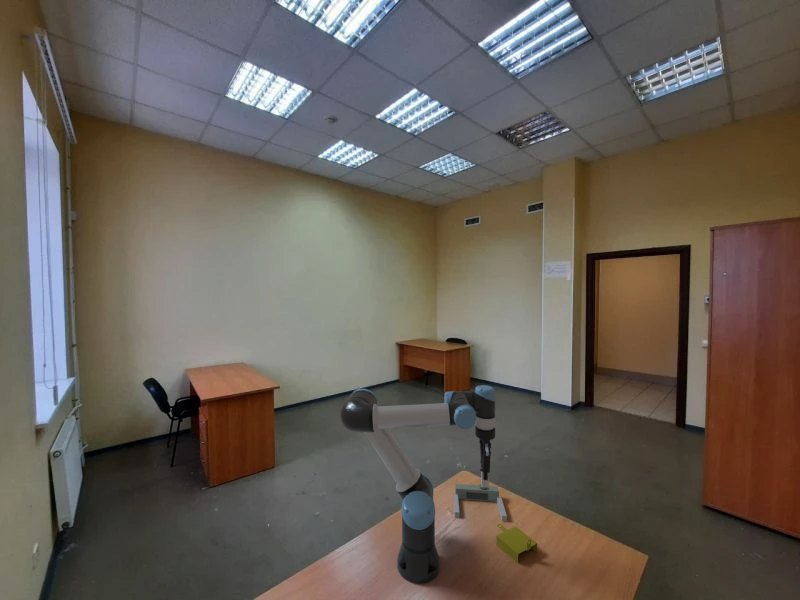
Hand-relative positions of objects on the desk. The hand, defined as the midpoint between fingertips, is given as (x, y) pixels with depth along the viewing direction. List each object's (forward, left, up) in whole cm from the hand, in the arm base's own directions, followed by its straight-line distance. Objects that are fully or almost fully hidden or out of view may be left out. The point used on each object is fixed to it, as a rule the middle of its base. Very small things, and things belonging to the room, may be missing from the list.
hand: (485, 486), depth 129 cm
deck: (0, +21, -22) cm, 31 cm away
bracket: (+6, +5, -19) cm, 20 cm away
